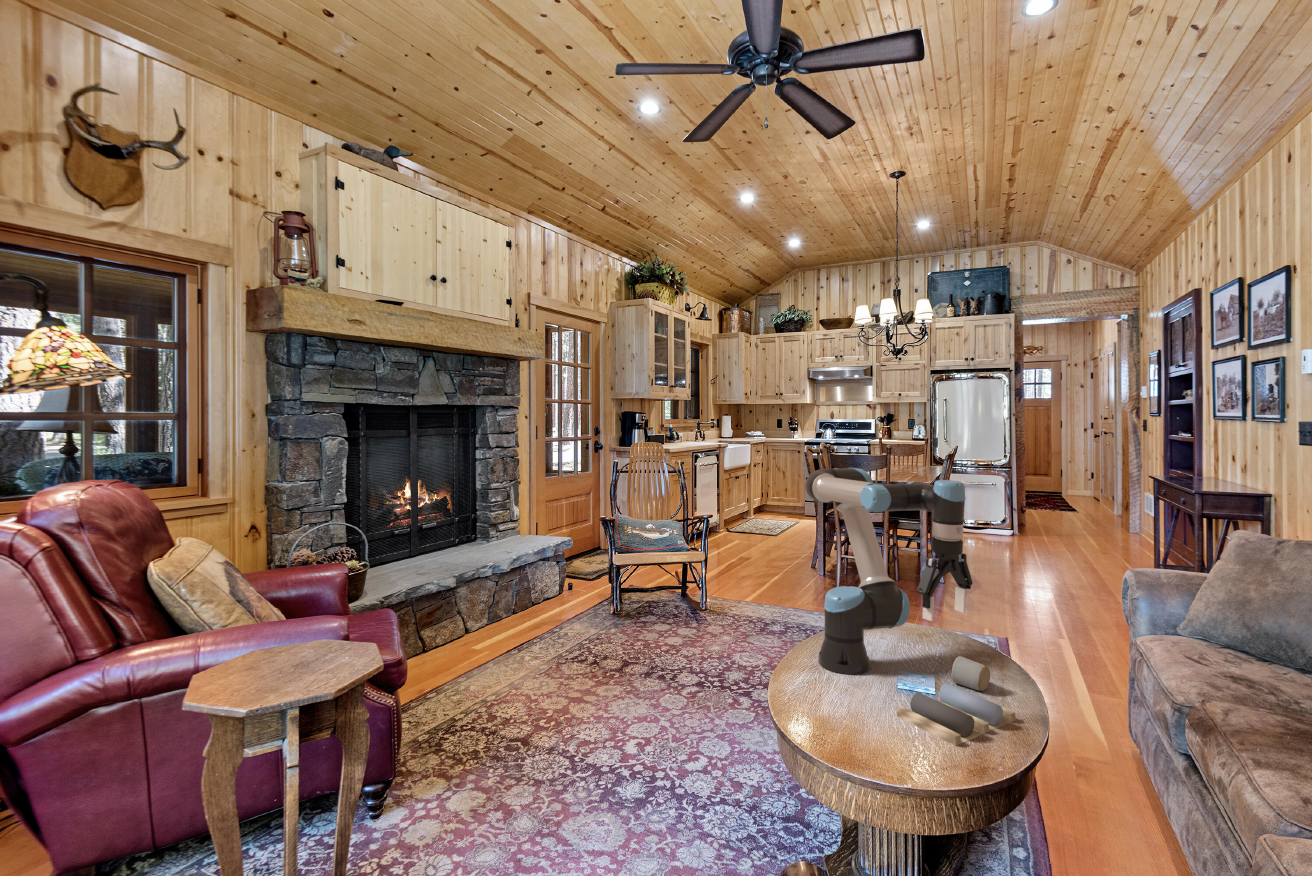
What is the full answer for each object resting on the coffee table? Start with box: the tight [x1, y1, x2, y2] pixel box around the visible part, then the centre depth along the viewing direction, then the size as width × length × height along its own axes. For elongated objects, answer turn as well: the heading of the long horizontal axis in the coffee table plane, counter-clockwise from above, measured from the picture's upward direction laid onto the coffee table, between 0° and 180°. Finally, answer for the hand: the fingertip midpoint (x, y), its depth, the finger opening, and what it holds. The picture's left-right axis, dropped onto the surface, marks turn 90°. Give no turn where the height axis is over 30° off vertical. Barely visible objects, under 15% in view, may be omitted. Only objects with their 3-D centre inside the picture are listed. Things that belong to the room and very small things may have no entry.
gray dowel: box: [938, 683, 1003, 726], centre depth 152 cm, size 14×5×5 cm, turn 29°
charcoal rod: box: [909, 692, 974, 737], centre depth 147 cm, size 14×5×5 cm
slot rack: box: [896, 696, 1016, 747], centre depth 150 cm, size 16×24×3 cm, turn 119°
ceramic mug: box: [951, 655, 991, 692], centre depth 170 cm, size 11×8×8 cm
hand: (944, 615), depth 161 cm, fingers open, 13 cm apart
